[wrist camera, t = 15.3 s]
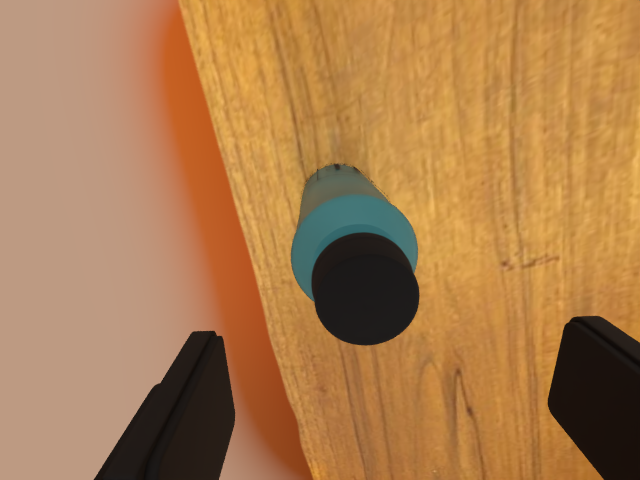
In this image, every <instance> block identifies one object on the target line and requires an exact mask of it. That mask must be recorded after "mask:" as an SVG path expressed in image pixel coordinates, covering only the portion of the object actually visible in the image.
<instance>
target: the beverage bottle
mask: <svg viewBox="0 0 640 480" xmlns="http://www.w3.org/2000/svg"><path fill="white" fill-rule="evenodd" d="M331 164H332V163H331ZM340 164H342V163H340ZM352 167H353V166H352ZM352 167H350V165H349V166H346V165H345V164H343V165H339V164H338V163H337V164H336V163H335V164H333V165H328V166H325V167H324V168H321V169H320V170H318V169H317V172H314V174H313V173H312V174H313V175H312V176H311V175H310V176H311V177H310V179H309V180H306V181H307V183H306V182H305V183H306V185H305V187H304V190H303V189H302V190H303V194H302V201H301V207H300V215H299V220H298V225H297V230H296V233H295V236H294V239H293V243H292V248H291V264H292V270H293V273H294V276H295V278H296V281H297V283H298V284H299V286H300V288H301V289H302V290H303V291H304V293H305V294H306V295H307V296H308V297H309V298H310V299H311V300H313V301H314V302H315V308H316V312H317V315H318V317H319V319H320V321H321V322H322V324H323V325H324V327H325V328H326V329H327V330H328V331H329V332H330V333H331V334H332V335H334V336H335V337H337V338H338V339H340V340H342V341H345V342H347V343H351V344H356V345H375V344H379V343H383V342H386V341H388V340H391V339H393V338H394V337H396V336H397V335H399V334H400V333H401V332H403V331H404V330H405V329H406V328H407V327H408V326H409V324H410V323H411V322H412V320H413V318H414V317H415V314H416V312H417V309H418V304H419V287H418V283H417V280H416V278H415V275H414V272H415V269H416V265H417V259H418V246H417V240H416V236H415V233H414V230H413V228H412V226H411V224H410V223H409V221H408V220H407V218H406V217H405V216H404V215H403V213H402V212H400V211H399V210H398V209H397V207H395V206H393V205H392V204H391V203H390V202H389V201H388V200H387V199H386V198H385V197H384V196H383V194H382V193H381V192H380V191H379V190H378V189H377V188H376V187H375V186H376V185H375V186H374V185H373V183H374V182H373V181H371V182H370V181H369V180H370V179H369V178H368V179H369V180H368V179H367V178H366V177H365V176H364V175H363V174H362V173H360V171H359V170H358V169H357V168H355V167H353V168H352ZM367 177H368V176H367ZM372 182H373V183H372ZM379 189H380V188H379ZM386 196H387V195H386Z"/></svg>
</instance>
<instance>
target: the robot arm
mask: <svg viewBox="0 0 640 480" xmlns="http://www.w3.org/2000/svg"><path fill="white" fill-rule="evenodd" d="M548 407H549V410H550V412H551V414H552V415H553V417H554V418H555V419H556V421H557V422H558V423H559V424H560V425H561V427H562V428H563V429H564V430H565V432H566V433H567V434H568V435H569V437H570V438H571V439H572V440H573V442H574V443H575V444H576V445H577V447H578V448H579V449H580V450H581V452H582V453H583V454H584V455H585V457H586V458H587V459H588V460H589V462H590V463H591V464H592V465H593V467H594V468H595V469H596V470H597V471H598V473H599V474H600V475H601V476H602V478H603V479H604V480H640V343H639V342H638V341H636V340H635V339H633V338H632V337H630V336H629V335H627V334H626V333H624V332H623V331H621V330H620V329H619V328H617V327H616V326H614V325H613V324H611V323H610V322H608V321H607V320H605V319H604V318H602V317H600V316H581V317H573V318H572V319H571V320H570V322H569V323H567V324H566V325H565V327H564V330H563V335H562V339H561V344H560V348H559V352H558V357H557V361H556V366H555V370H554V375H553V379H552V383H551V388H550V392H549V397H548ZM234 422H235V409H234V403H233V397H232V390H231V384H230V379H229V372H228V366H227V360H226V353H225V348H224V341H223V338H222V336H217V335H216V333H215V331H197V332H192V333H191V334H190V336H189V338H188V339H187V341H186V343H185V344H184V346H183V347H182V349H181V351H180V352H179V354H178V356H177V357H176V359H175V360H174V362H173V364H172V365H171V367H170V368H169V370H168V372H167V373H166V375H165V377H164V378H163V380H162V381H161V383H160V384H157V385H155V386H154V387H153V388H152V389H151V391H150V392H149V394H148V395H147V397H146V398H145V400H144V402H143V403H142V405H141V406H140V408H139V409H138V411H137V413H136V414H135V416H134V417H133V419H132V420H131V422H130V424H129V425H128V427H127V428H126V430H125V431H124V433H123V435H122V436H121V438H120V439H119V441H118V443H117V444H116V446H115V447H114V449H113V450H112V452H111V453H110V455H109V457H108V458H107V460H106V461H105V463H104V464H103V466H102V468H101V469H100V471H99V472H98V474H97V476H96V477H95V479H94V480H219V477H220V473H221V470H222V466H223V463H224V459H225V456H226V452H227V449H228V445H229V442H230V438H231V435H232V431H233V427H234Z"/></svg>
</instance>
